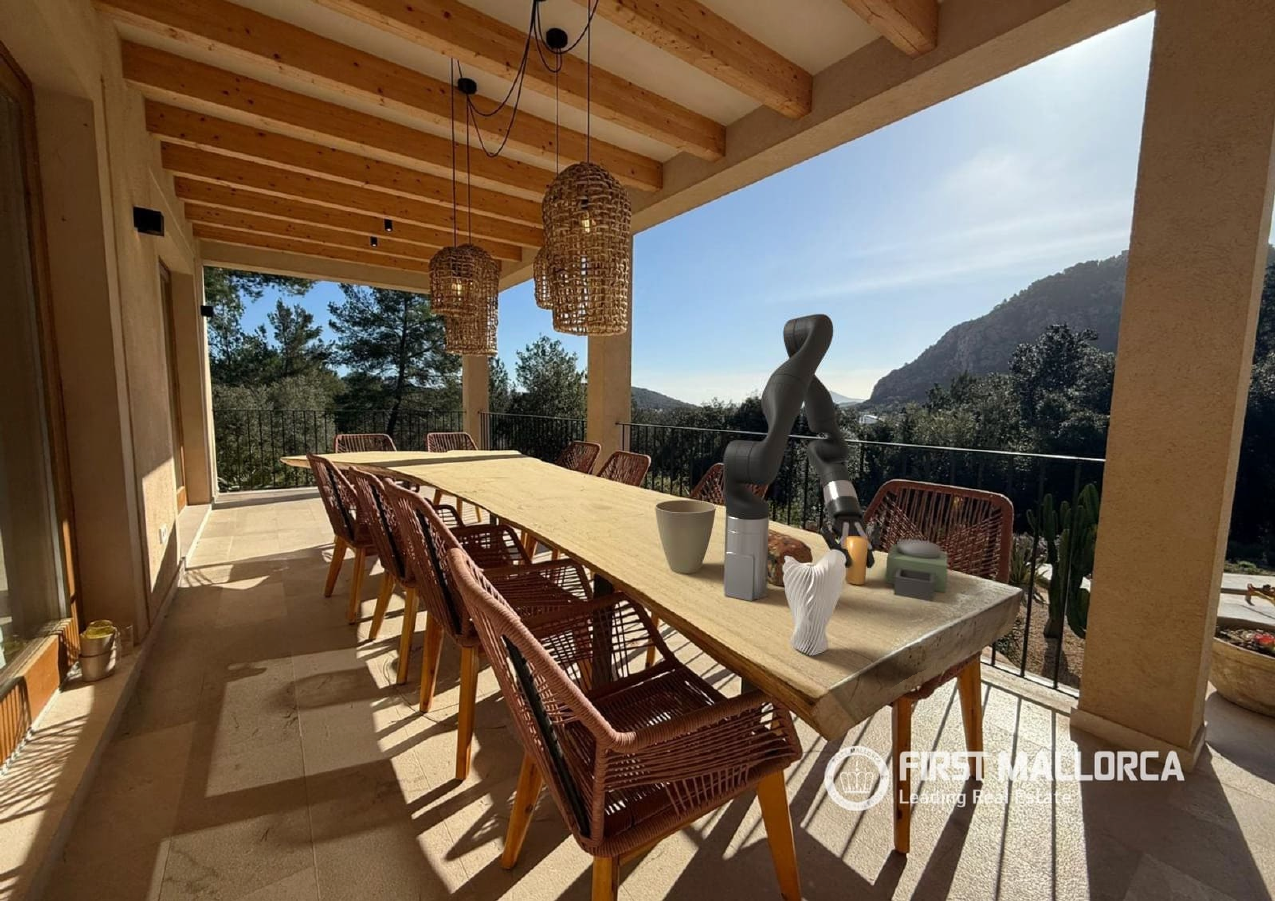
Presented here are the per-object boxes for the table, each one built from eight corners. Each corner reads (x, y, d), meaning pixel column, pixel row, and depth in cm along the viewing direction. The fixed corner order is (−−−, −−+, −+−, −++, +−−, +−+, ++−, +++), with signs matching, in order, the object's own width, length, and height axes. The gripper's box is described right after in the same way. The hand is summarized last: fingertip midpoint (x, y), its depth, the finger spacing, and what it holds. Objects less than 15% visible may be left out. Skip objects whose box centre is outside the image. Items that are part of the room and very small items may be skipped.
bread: (812, 583, 121) (814, 541, 120) (772, 588, 118) (773, 545, 116) (769, 559, 138) (770, 522, 137) (733, 562, 135) (734, 524, 134)
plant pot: (680, 555, 140) (681, 497, 138) (726, 568, 130) (728, 505, 128) (641, 568, 130) (642, 505, 128) (688, 584, 119) (690, 515, 118)
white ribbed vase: (773, 646, 90) (777, 544, 88) (805, 635, 94) (810, 538, 92) (812, 668, 83) (817, 558, 81) (845, 655, 87) (851, 550, 85)
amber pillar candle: (864, 585, 118) (866, 542, 117) (843, 581, 120) (845, 539, 119) (866, 579, 122) (869, 537, 121) (846, 576, 124) (848, 535, 123)
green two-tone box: (945, 603, 109) (948, 566, 108) (882, 592, 115) (884, 557, 114) (945, 576, 126) (947, 543, 125) (890, 567, 132) (892, 536, 131)
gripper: (817, 494, 126) (833, 558, 116) (876, 494, 126) (897, 559, 116) (809, 510, 132) (823, 573, 121) (865, 511, 132) (885, 574, 121)
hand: (859, 566), depth 119 cm, fingers closed on amber pillar candle, 4 cm apart
